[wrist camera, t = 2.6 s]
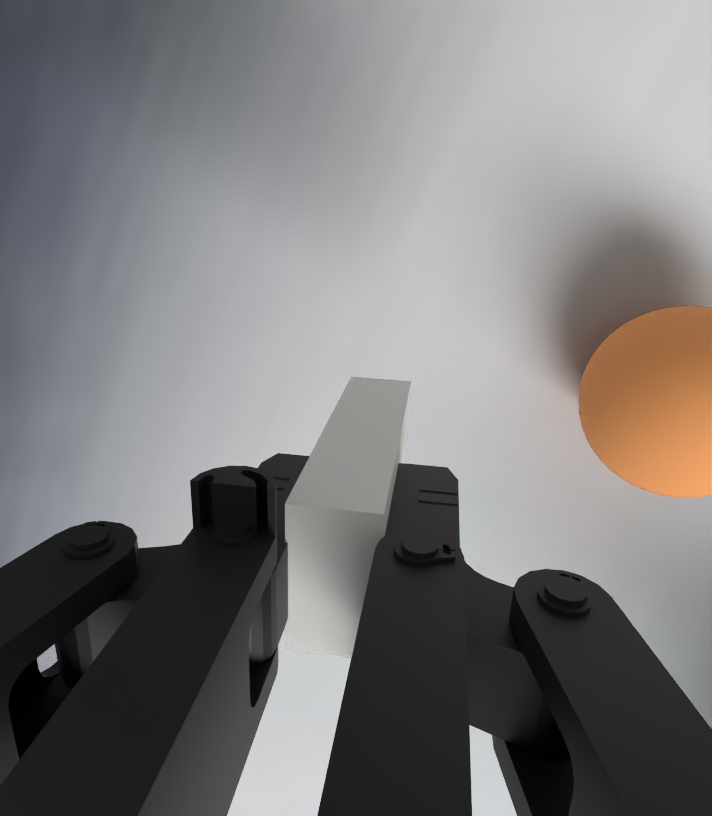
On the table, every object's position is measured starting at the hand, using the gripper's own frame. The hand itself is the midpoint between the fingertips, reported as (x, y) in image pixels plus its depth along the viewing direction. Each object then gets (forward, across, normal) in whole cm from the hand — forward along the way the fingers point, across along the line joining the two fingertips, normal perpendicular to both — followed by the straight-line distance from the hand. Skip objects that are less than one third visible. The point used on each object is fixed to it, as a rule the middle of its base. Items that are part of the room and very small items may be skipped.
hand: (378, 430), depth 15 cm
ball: (+5, -9, 0) cm, 10 cm away
